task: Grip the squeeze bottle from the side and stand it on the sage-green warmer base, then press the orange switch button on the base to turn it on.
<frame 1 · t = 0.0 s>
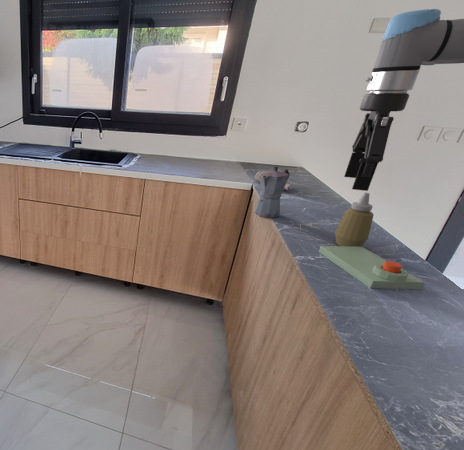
hand: (354, 183, 79), 25 cm above the worktop, tool pointing down, fingers open, 13 cm apart
decorative bottle: (271, 187, 164), on the worktop
switch: (392, 267, 80), point 5 cm above the worktop, slide at 0.1 cm
squeeze bottle: (347, 246, 102), on the worktop
moka pot: (266, 214, 129), on the worktop
warmer: (364, 268, 89), on the worktop
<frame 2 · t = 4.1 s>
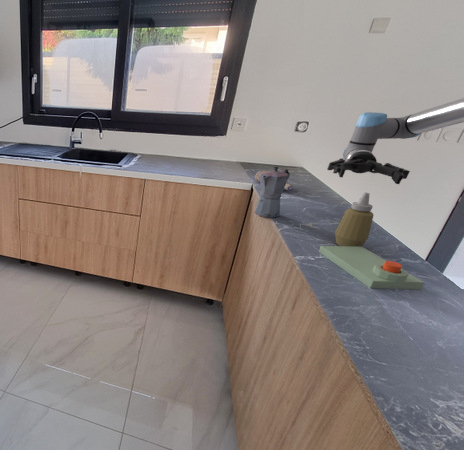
hand: (370, 176, 98), 22 cm above the worktop, tool horizontal, fingers open, 13 cm apart
nothing on the worktop moved.
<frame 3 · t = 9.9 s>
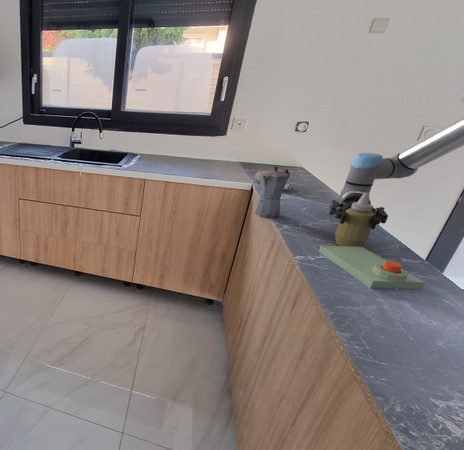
hand: (358, 222, 94), 10 cm above the worktop, tool horizontal, fingers closed on squeeze bottle, 6 cm apart
squeeze bottle: (346, 246, 102), on the worktop, touching gripper
everything else where it was.
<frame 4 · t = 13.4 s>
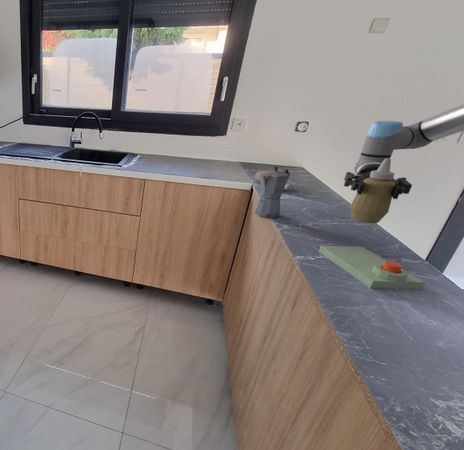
hand: (378, 191, 83), 22 cm above the worktop, tool horizontal, fingers closed on squeeze bottle, 6 cm apart
squeeze bottle: (364, 221, 91), point 12 cm above the worktop, touching gripper
everything else where it was.
when the fingers open (12 cm above the worktop, at t = 17.2 s): squeeze bottle stays where it is, resting on warmer.
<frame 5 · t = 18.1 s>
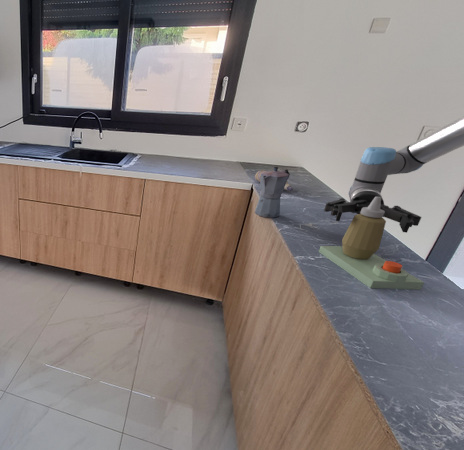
hand: (371, 221, 84), 14 cm above the worktop, tool horizontal, fingers open, 13 cm apart
squeeze bottle: (355, 255, 92), point 2 cm above the worktop, touching warmer
everything else where it was.
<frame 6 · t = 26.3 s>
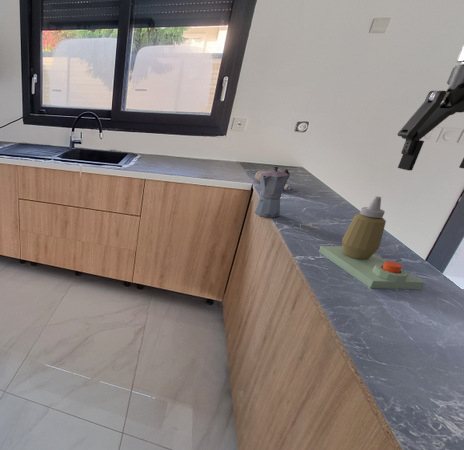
hand: (435, 169, 70), 30 cm above the worktop, tool pointing down, fingers open, 12 cm apart
nothing on the worktop moved.
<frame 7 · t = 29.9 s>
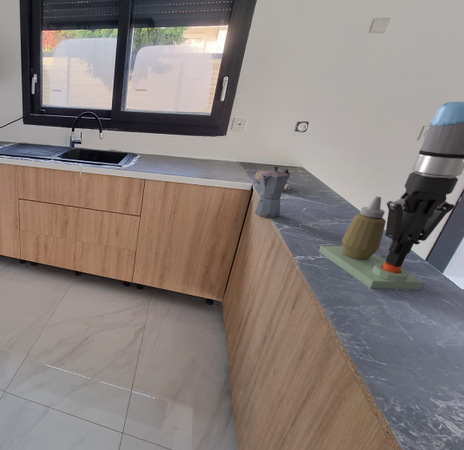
hand: (393, 263, 80), 6 cm above the worktop, tool pointing down, fingers closed
switch: (391, 268, 80), point 4 cm above the worktop, slide at -0.1 cm, touching gripper
everything else where it was.
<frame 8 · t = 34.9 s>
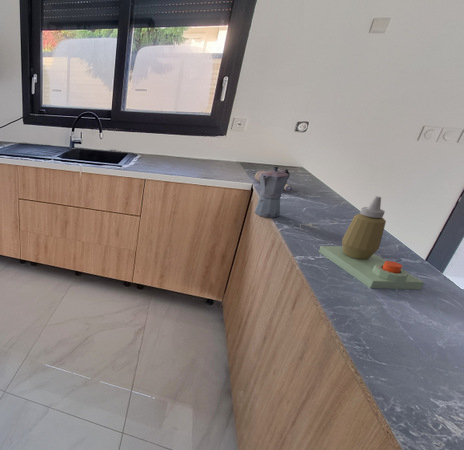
switch: (392, 267, 80), point 5 cm above the worktop, slide at 0.1 cm
everything else where it was.
at the end: squeeze bottle inside the target area on the warmer (0.1 cm from its centre), point 2.0 cm above the warmer's base; squeeze bottle touching warmer; switch pushed in 1.0 cm at the most during the clip, back to where it started at the end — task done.
